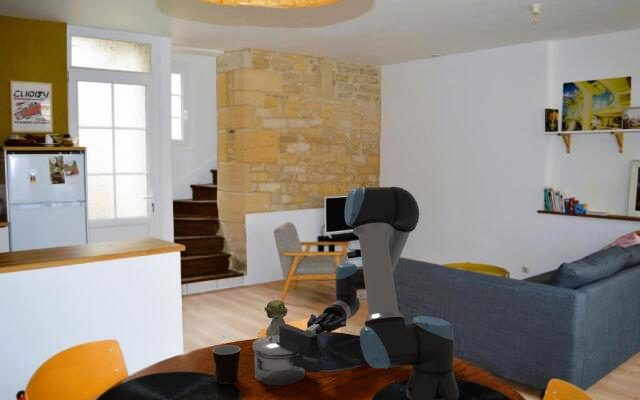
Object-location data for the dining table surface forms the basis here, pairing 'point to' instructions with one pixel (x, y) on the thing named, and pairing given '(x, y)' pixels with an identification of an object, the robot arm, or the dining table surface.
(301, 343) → the lid
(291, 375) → the pot
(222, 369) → the coffee mug
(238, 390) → the dining table surface
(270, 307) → the green sculpted bust
